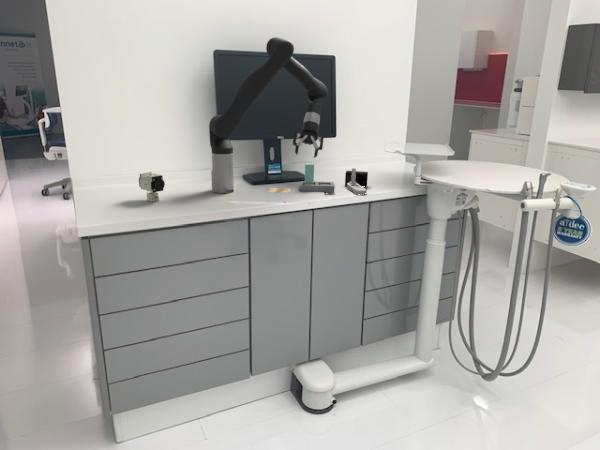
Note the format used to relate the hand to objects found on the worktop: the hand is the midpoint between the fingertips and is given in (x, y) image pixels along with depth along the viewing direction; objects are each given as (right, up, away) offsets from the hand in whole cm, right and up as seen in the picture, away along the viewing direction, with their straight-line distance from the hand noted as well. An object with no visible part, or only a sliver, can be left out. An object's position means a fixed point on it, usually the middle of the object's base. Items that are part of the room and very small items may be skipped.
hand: (305, 155), depth 225 cm
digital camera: (+24, -14, +5) cm, 29 cm away
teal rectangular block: (+1, -17, -7) cm, 18 cm away
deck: (-12, -18, -10) cm, 24 cm away
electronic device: (+23, -17, -5) cm, 29 cm away
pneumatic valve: (-63, -23, -29) cm, 73 cm away
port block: (+5, -17, -7) cm, 19 cm away
